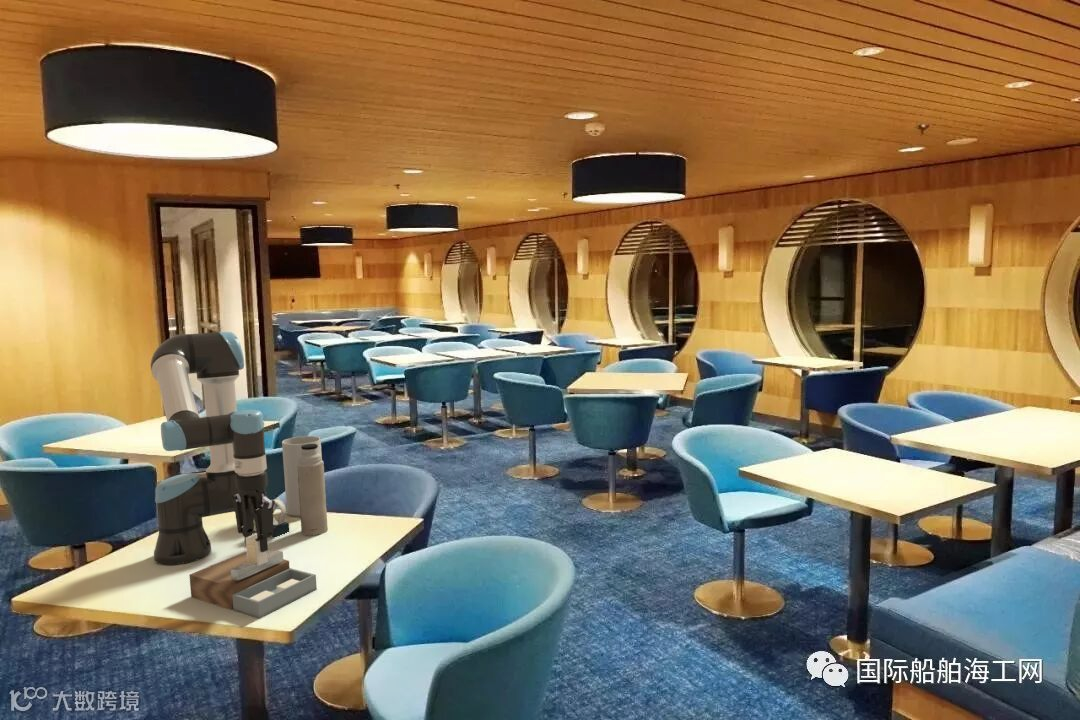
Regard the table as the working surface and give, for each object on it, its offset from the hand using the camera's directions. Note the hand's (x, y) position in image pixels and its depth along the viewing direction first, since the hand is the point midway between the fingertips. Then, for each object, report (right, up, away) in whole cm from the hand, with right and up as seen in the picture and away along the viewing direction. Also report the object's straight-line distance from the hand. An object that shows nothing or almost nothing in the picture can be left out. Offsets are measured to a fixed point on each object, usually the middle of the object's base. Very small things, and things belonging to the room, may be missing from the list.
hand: (257, 561), depth 189 cm
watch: (-11, -4, +45) cm, 47 cm away
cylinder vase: (-9, -1, +67) cm, 68 cm away
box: (+5, -9, -2) cm, 11 cm away
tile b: (+8, -6, +1) cm, 10 cm away
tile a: (+4, -7, -6) cm, 10 cm away
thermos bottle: (0, -3, +47) cm, 47 cm away
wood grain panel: (-6, -8, +5) cm, 11 cm away
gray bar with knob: (0, -2, 0) cm, 2 cm away
